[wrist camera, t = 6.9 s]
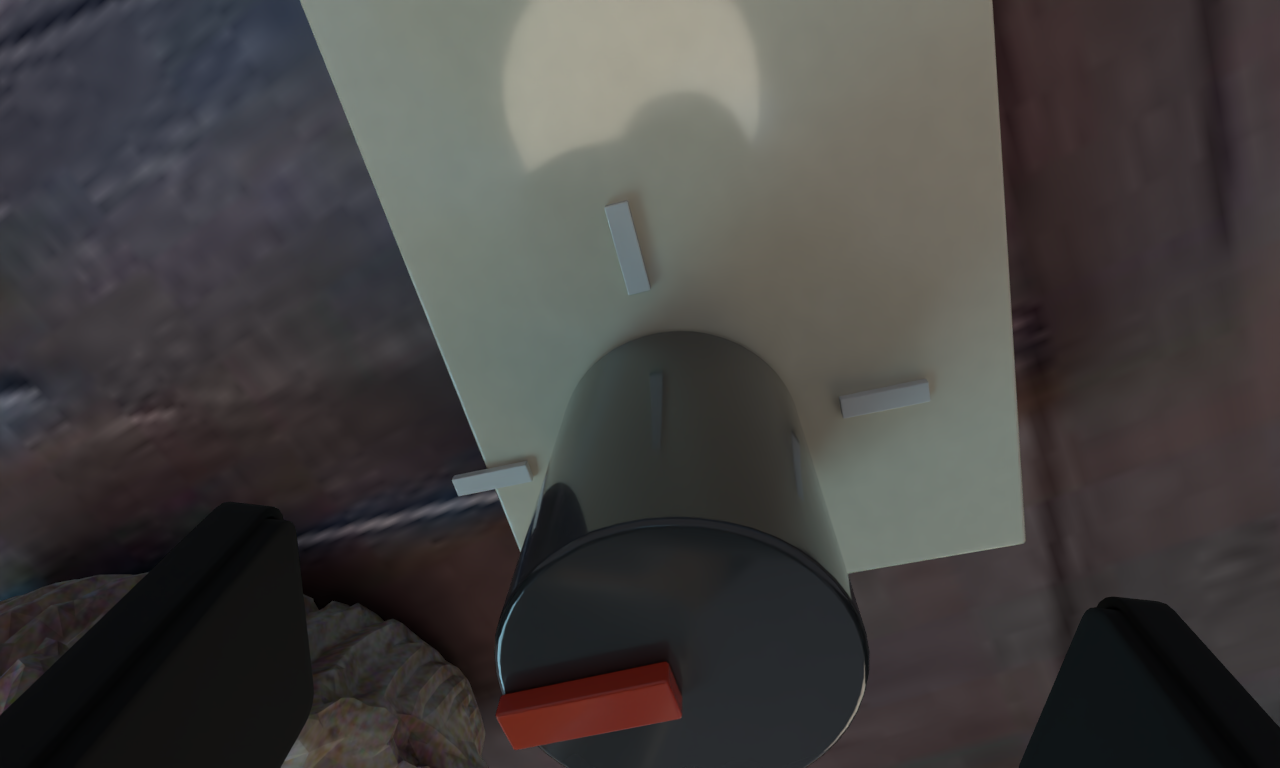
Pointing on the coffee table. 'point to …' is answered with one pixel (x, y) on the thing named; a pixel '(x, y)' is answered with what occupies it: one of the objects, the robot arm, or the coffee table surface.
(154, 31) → the coffee table surface
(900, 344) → the hob panel
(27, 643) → the seashell
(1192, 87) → the coffee table surface
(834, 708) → the hob knob
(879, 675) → the coffee table surface
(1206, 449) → the coffee table surface
